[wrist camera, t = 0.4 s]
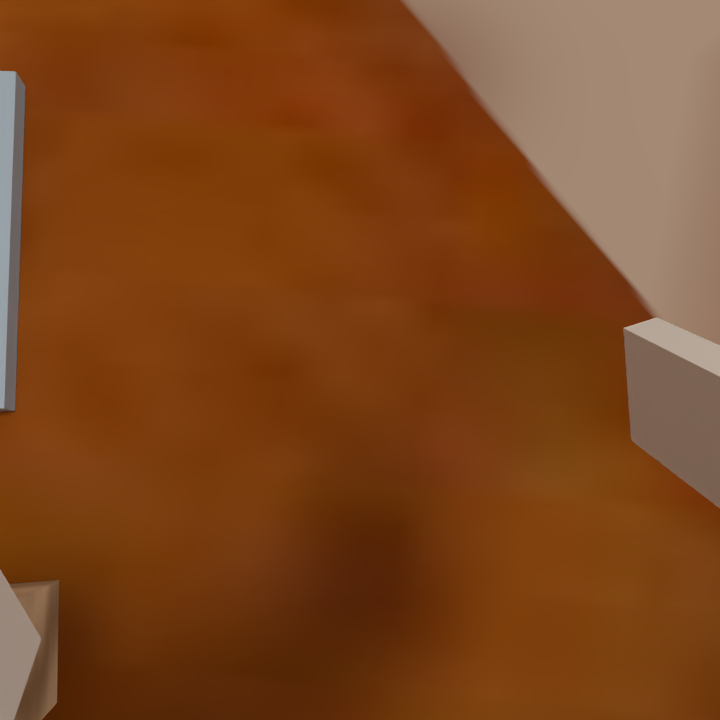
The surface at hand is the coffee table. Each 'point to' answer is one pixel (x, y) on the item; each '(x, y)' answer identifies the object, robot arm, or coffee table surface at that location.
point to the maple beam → (40, 647)
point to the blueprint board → (10, 227)
